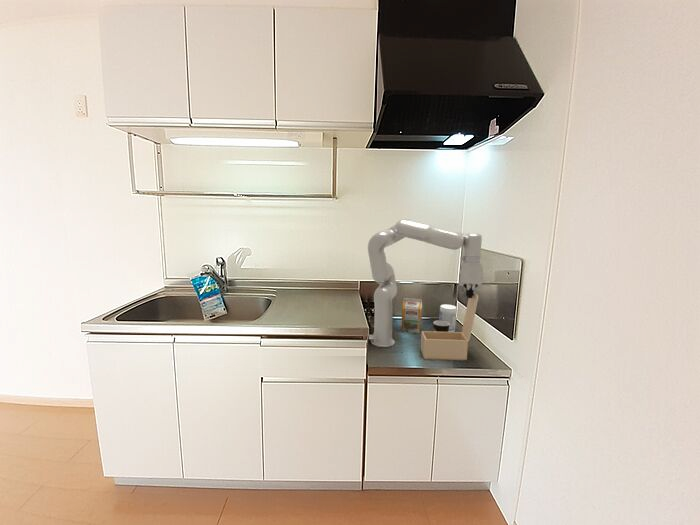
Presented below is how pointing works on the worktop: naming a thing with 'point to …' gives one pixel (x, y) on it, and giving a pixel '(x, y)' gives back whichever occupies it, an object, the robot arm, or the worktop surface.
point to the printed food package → (411, 316)
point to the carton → (444, 345)
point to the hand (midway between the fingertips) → (469, 297)
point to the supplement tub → (448, 315)
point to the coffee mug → (441, 326)
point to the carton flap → (469, 316)
